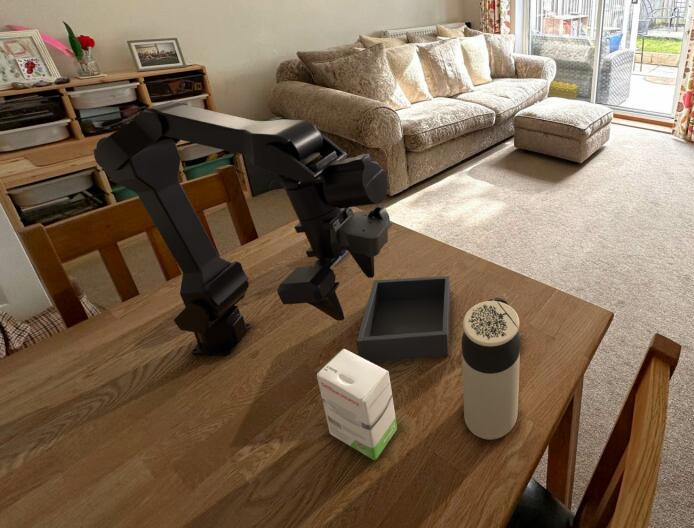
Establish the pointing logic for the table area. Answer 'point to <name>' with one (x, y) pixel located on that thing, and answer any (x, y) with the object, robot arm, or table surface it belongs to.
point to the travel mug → (490, 369)
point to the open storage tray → (406, 320)
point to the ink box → (358, 403)
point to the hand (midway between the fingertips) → (357, 297)
